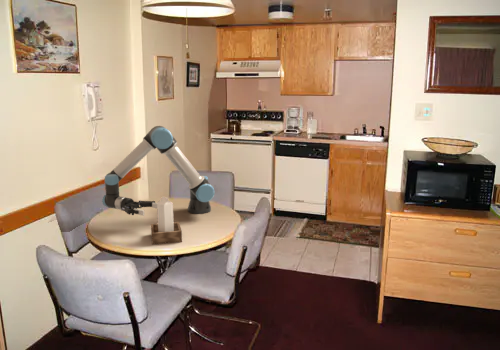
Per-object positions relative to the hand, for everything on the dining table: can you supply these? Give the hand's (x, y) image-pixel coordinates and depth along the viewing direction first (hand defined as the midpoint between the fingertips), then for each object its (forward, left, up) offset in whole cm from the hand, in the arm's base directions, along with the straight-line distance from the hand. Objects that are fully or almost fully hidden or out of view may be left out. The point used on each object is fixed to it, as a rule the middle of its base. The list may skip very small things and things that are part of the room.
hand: (152, 209), depth 230 cm
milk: (-6, +6, -14) cm, 16 cm away
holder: (-6, +6, -14) cm, 17 cm away
